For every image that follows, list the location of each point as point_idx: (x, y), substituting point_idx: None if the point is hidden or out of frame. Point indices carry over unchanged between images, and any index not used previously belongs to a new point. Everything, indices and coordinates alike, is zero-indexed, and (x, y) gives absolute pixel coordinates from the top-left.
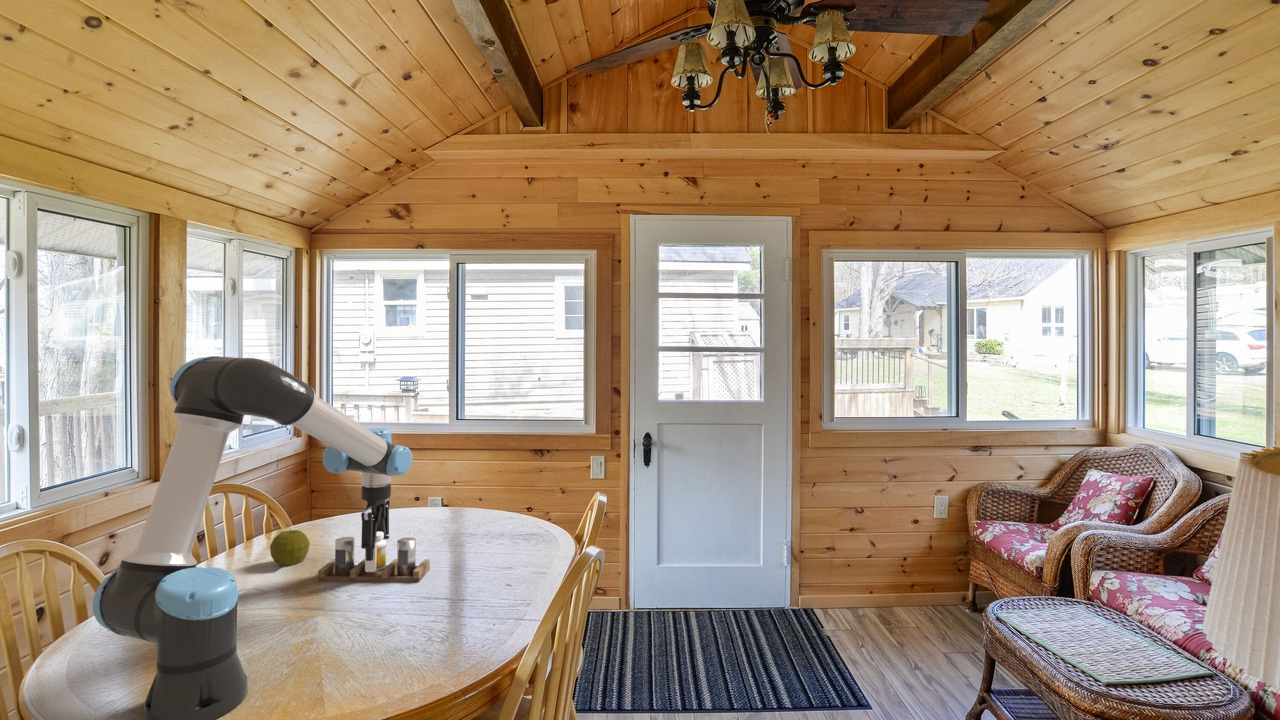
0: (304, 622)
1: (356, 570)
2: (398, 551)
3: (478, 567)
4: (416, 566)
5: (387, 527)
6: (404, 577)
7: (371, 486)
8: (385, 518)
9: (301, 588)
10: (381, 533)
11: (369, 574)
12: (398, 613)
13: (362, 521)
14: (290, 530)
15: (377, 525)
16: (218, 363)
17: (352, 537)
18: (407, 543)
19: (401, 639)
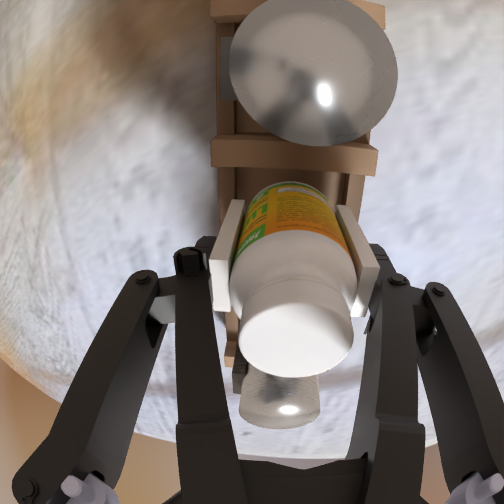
0: (7, 150)
1: (221, 166)
2: (232, 372)
3: (342, 402)
4: None
5: (420, 363)
6: (228, 321)
7: None
8: (439, 412)
9: None
10: (295, 371)
11: (300, 181)
12: (89, 319)
13: (51, 434)
14: None
15: (371, 374)
16: None
17: (379, 114)
18: (242, 416)
19: (36, 332)
